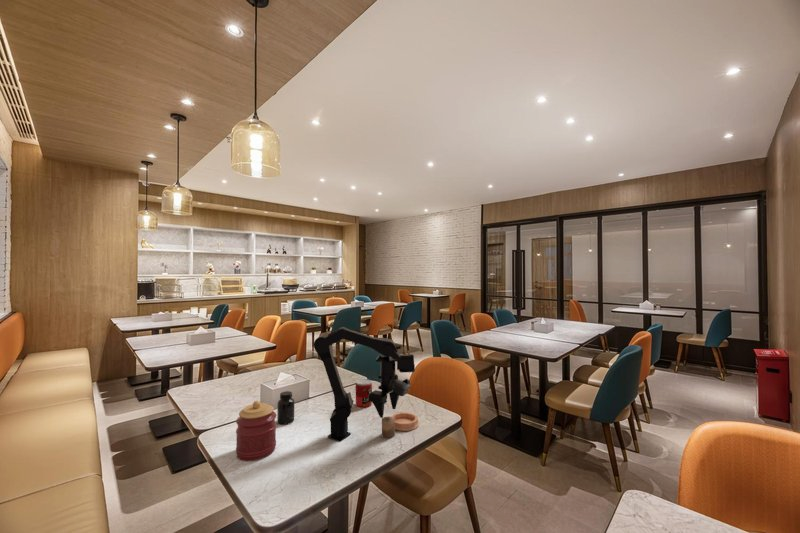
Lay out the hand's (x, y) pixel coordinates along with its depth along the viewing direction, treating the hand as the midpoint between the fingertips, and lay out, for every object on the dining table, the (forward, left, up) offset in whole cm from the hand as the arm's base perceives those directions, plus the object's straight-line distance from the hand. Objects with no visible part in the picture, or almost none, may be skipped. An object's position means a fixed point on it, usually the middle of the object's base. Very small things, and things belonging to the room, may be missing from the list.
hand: (387, 413), depth 129 cm
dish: (+11, -1, -8) cm, 14 cm away
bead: (0, 0, -8) cm, 8 cm away
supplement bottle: (-11, +44, -9) cm, 46 cm away
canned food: (+20, +26, -9) cm, 34 cm away
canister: (-33, +34, -9) cm, 48 cm away
